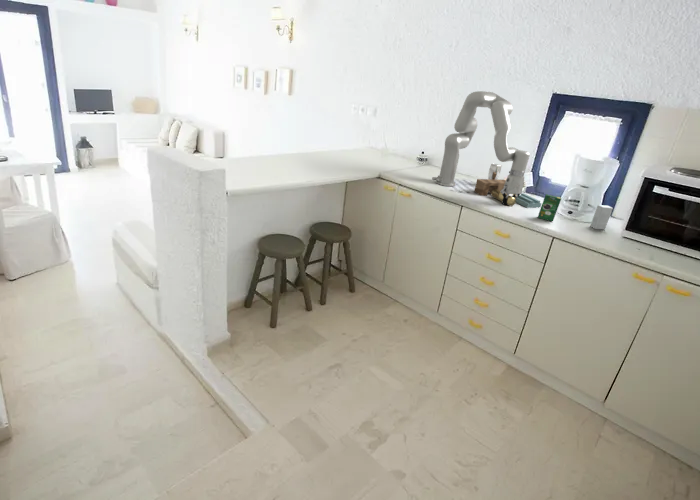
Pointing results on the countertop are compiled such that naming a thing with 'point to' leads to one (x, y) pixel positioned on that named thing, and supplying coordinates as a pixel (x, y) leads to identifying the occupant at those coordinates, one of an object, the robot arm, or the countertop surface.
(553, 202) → the coffee box
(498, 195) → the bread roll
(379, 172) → the countertop surface
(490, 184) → the beam
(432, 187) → the countertop surface
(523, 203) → the v block
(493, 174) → the beer glass
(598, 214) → the skincare box
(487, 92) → the robot arm
